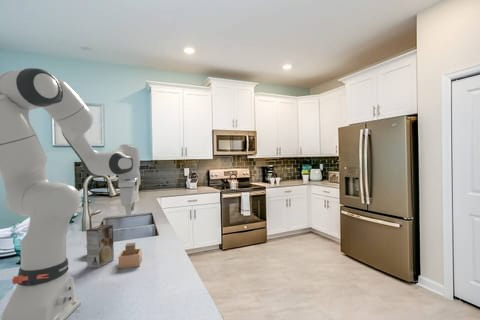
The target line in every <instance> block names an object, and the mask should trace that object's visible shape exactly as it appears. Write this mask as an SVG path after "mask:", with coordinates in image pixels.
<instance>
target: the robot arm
mask: <svg viewBox="0 0 480 320" xmlns="http://www.w3.org/2000/svg"><path fill="white" fill-rule="evenodd" d="M73 89H74V88H72V87H71V86H70V85H68V84H67V83H66V82H65V80H64V81H63V80H62V79H58V78H56V77H55V76H54V75H53V74H51V73H50V72H49V71H47V70H45V69H42V68H35V67H34V68H33V67H32V68H31V67H29V68H24V69H20V70H19V69H18V70H10V71H6V72H3V73H1V74H0V174H1V176H2V181H3V184H4V189H5V191H6V192H5V193H6V194H5V200H4V201H5V205H6V207H7V208H8V209H9V210H10V211H11V212H13V213H15V214H16V215H19V216H22V217H26V218H29V225H28V228H27V231H26V232H25V233H26V234H25V235H24V236H23V237H22V238H21V240H20V247H19V248H20V267H19V269H18V273H17V275H14V276H13V277H12V280H11V281H12V282H11V283H12V285H16V284H17V285H16V287H15V288H14V290H13V291H12V292H13V293H12V294H11V296H10V297H9V300H8V302H7V304H6V305H5V308H4V310H3V312H2V315H1V320H66V319H67V318H68V317H69V316H70V315H71V314H72V313H73V312H74V311H75V310H76V309H77V308H78V307H79V306H80V305H81V299H79V298H76V292H75V291H76V289H75V280H74V278H73V276H71V275H70V273H69V259H68V257H67V233H68V229H69V225H70V221H71V219H72V217H73V215H74V214H75V213H77V212H78V210H79V209H80V206H81V203H82V197H81V194H80V191H79V190H78V189H77V188H76V187H75V186H72V185H70V184H67V183H64V182H59V181H58V182H56V181H55V182H54V181H49V179H48V177H47V172H46V164H47V162H48V157H47V155H46V152H45V150H44V148H43V146H42V144H41V142H40V140H39V137H38V136H37V134H36V131H35V129H34V127H33V125H32V124H31V122H30V119H29V113H30V111H31V110H36V109H39V108H42V109H44V110H45V111H46V112H47V113H48V114H49V116H50V117H51V118H52V119H53V121H54V122H55V123H56V124H57V126H58V127H60V130H61V134H62V136H63V138H64V140H65V141H66V142H67V143H68V145H69V146H70V148H71V149H72V150H73V151H74V154H75V155H76V156H77V157H78V158H79V160H80V162H81V164H82V167H83V169H84V171H85V173H86V174H88V175H89V176H91V177H102V176H105V177H106V176H107V177H108V176H118V183H117V187H118V188H119V197H120V202H121V206H123V207H124V209H125V215H126V216H130V215H132V212H133V211H134V210H135V202H136V201H137V199H138V186H140V185H141V173H140V166H141V158H140V151H139V148H138V147H137V146H135V145H132V144H121V145H119V147H118V148H117V149H115V150H112V151H109V152H108V151H107V152H100V151H97V150H95V149H94V147H92V145H91V144H90V142H89V141H88V139H87V137H86V135H85V134H86V133H87V132H88V131H89V130H90V129H91V128H92V126H93V124H94V116H93V113H92V111H91V110H90V108H89V107H88V105H87V104H86V103H85V102H84V101H83V99H82V98H81V97H80V95H78V93H76V91H75V90H73Z"/></svg>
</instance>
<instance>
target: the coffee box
mask: <svg viewBox="0 0 480 320" xmlns="http://www.w3.org/2000/svg"><path fill="white" fill-rule="evenodd" d="M85 232H86V236H85V237H86V244H87V248H86V260H87V262H86V266H87V267H88V268H101V267H103V266H105V265H106V264H109V263H110V262H112V261H114V260H115V255H114V253H115V252H114V250H115V249H114V248H115V247H114V225H113V224H100V225H97V226H93V227H91V228H88V229H86V231H85Z"/></svg>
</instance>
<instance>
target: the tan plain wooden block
mask: <svg viewBox="0 0 480 320" xmlns="http://www.w3.org/2000/svg"><path fill="white" fill-rule="evenodd" d="M124 247H125V249H124V250H126V256H127V255H135V249H136V242H127V243H126V244H125V246H124Z"/></svg>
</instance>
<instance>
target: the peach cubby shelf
mask: <svg viewBox="0 0 480 320" xmlns="http://www.w3.org/2000/svg"><path fill="white" fill-rule="evenodd" d="M142 256H143V253H142V248H135V255H127V256H126V250H125V249H122V250H121V252H120V253H119V255H118V269H130V268H136V267H140V266H141V263H142V259H143V258H142Z"/></svg>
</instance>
